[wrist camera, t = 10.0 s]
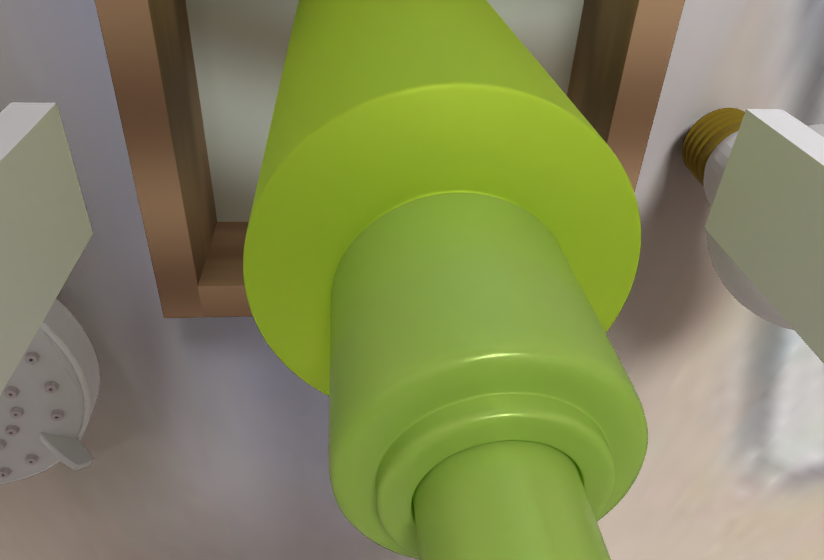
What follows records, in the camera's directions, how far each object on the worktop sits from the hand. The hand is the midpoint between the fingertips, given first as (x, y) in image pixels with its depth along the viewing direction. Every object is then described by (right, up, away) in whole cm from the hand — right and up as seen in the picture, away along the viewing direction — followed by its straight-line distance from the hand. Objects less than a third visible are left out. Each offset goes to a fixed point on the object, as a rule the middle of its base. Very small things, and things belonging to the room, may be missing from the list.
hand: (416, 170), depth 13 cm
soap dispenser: (0, +5, +8) cm, 9 cm away
